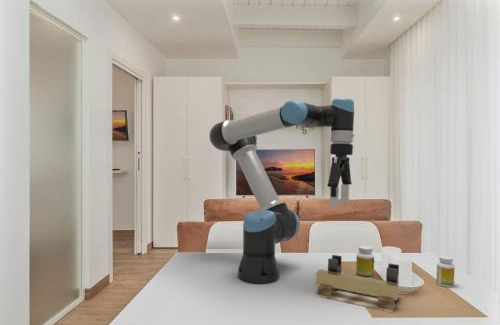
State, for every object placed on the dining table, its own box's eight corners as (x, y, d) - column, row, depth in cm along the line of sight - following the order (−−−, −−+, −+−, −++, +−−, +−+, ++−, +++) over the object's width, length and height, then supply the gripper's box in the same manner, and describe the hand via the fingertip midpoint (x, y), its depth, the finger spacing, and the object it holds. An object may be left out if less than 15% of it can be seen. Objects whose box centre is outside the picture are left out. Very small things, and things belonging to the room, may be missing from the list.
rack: (325, 290, 113) (326, 258, 113) (330, 284, 118) (331, 254, 118) (398, 304, 102) (399, 270, 102) (399, 297, 108) (400, 265, 107)
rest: (317, 296, 107) (317, 286, 107) (323, 289, 114) (323, 280, 114) (392, 312, 97) (392, 302, 97) (394, 303, 103) (395, 293, 103)
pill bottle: (374, 280, 122) (375, 250, 122) (357, 279, 124) (357, 248, 124) (372, 275, 129) (373, 245, 128) (355, 273, 130) (355, 244, 130)
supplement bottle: (432, 282, 122) (433, 255, 121) (444, 281, 123) (444, 254, 123) (446, 288, 117) (447, 260, 116) (457, 286, 118) (458, 258, 118)
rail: (316, 284, 110) (316, 271, 110) (318, 281, 112) (319, 269, 112) (397, 300, 98) (397, 286, 98) (398, 296, 101) (398, 283, 101)
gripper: (342, 141, 106) (340, 210, 106) (360, 145, 127) (358, 201, 128) (319, 141, 109) (317, 207, 110) (340, 144, 131) (338, 199, 132)
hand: (339, 204), depth 119 cm, fingers open, 13 cm apart
